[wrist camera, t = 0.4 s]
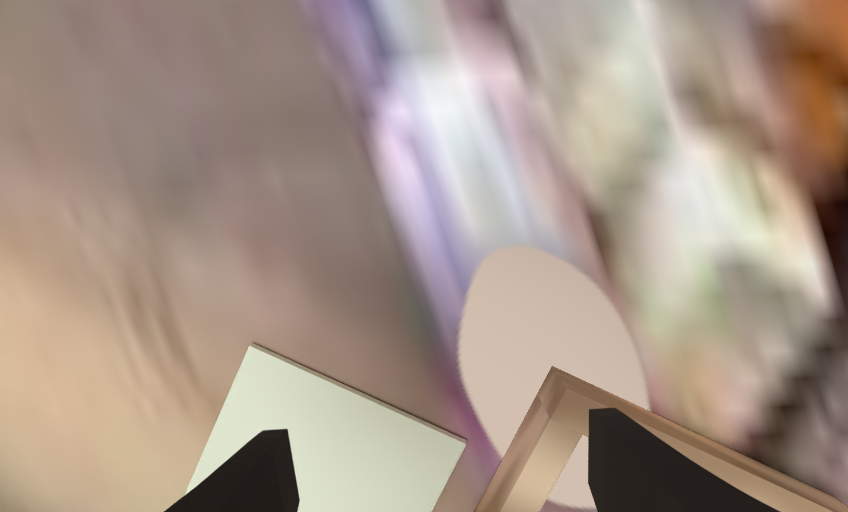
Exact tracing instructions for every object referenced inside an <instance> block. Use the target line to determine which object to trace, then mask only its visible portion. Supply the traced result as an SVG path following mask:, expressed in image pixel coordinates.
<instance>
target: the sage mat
mask: <svg viewBox="0 0 848 512" xmlns="http://www.w3.org/2000/svg"><path fill="white" fill-rule="evenodd" d="M274 429H288V434H289V440H290V446H291V452H292V457H293V463H294V469H295V475H296V481H297V487H298V493H299V498H300V502H299V507H298V511H297V512H432V510H433V508H434V506H435V504H436V502H437V500H438V498H439V496H440V494H441V492H442V490H443V488H444V487H445V485H446V483H447V481H448V479H449V477H450V475H451V473H452V471H453V469H454V467H455V465H456V463H457V461H458V460H459V458H460V456H461V454H462V452H463V450H464V448H465V446H466V440H465V439H463V438H461V437H458V436H456V435H454V434H452V433H450V432H447V431H445V430H443V429H441V428H439V427H436V426H434V425H432V424H430V423H428V422H425V421H423V420H421V419H419V418H417V417H414V416H412V415H410V414H408V413H406V412H403V411H401V410H399V409H397V408H395V407H392V406H390V405H388V404H386V403H384V402H381V401H379V400H377V399H375V398H373V397H370V396H368V395H366V394H364V393H362V392H359V391H357V390H355V389H353V388H351V387H348V386H346V385H344V384H342V383H340V382H337V381H335V380H333V379H331V378H329V377H326V376H324V375H322V374H320V373H318V372H315V371H313V370H311V369H309V368H307V367H304V366H302V365H300V364H298V363H296V362H293V361H291V360H289V359H287V358H285V357H282V356H280V355H278V354H276V353H274V352H271V351H269V350H267V349H265V348H263V347H260V346H258V345H256V344H254V343H252V344H251V345H250V346H249V348H248V350H247V352H246V355H245V357H244V359H243V362H242V364H241V366H240V369H239V371H238V373H237V375H236V378H235V380H234V382H233V385H232V387H231V389H230V392H229V394H228V396H227V398H226V401H225V403H224V405H223V408H222V410H221V412H220V415H219V417H218V419H217V421H216V424H215V426H214V428H213V431H212V433H211V435H210V438H209V440H208V442H207V444H206V447H205V449H204V451H203V454H202V456H201V458H200V461H199V463H198V465H197V468H196V470H195V472H194V474H193V477H192V479H191V481H190V484H189V486H188V488H187V491H186V493H185V495H186V494H187V493H188V492H190V491H191V490H192V489H193V488H195V487H196V486H197V485H198V484H200V483H201V482H202V481H203V480H204V479H206V478H207V477H208V476H209V475H210V474H211V473H213V472H214V471H215V470H216V469H217V468H218V467H220V466H221V465H222V464H223V463H224V462H225V461H227V460H228V459H229V458H230V457H231V456H232V455H234V454H235V453H236V452H237V451H238V450H239V449H240V448H242V447H243V446H244V445H245V444H246V443H247V442H249V441H250V440H251V439H252V438H253V437H255V436H256V435H257V434H258V433H260V432H261V431H262V430H274ZM185 495H184V496H185Z"/></svg>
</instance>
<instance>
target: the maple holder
mask: <svg viewBox="0 0 848 512" xmlns="http://www.w3.org/2000/svg"><path fill="white" fill-rule="evenodd" d="M599 408H616V409H618V410H620V411H621V412H623V413H624V414H626V415H627V416H628V417H630V418H631V419H633V420H634V421H636V422H637V423H638V424H640V425H641V426H643V427H644V428H645V429H647V430H648V431H650V432H651V433H652V434H654V435H655V436H657V437H658V438H660V439H661V440H662V441H664V442H665V443H667V444H668V445H670V446H671V447H673V448H674V449H675V450H677V451H678V452H680V453H681V454H683V455H684V456H686V457H687V458H689V459H690V460H692V461H693V462H695V463H697V464H698V465H700V466H701V467H703V468H704V469H706V470H708V471H709V472H711V473H712V474H714V475H716V476H717V477H719V478H721V479H722V480H724V481H726V482H727V483H729V484H731V485H732V486H734V487H736V488H737V489H739V490H741V491H743V492H744V493H746V494H748V495H750V496H752V497H753V498H755V499H757V500H759V501H761V502H763V503H765V504H767V505H769V506H771V507H772V508H774V509H776V510H778V511H780V512H848V507H847V506H845V505H844V504H843V503H841V502H840V501H839V500H837V499H836V498H835V497H833V496H831V495H828V494H826V493H824V492H822V491H820V490H818V489H815V488H813V487H811V486H809V485H807V484H805V483H803V482H800V481H798V480H796V479H794V478H792V477H790V476H787V475H785V474H783V473H781V472H779V471H777V470H775V469H772V468H770V467H768V466H766V465H764V464H762V463H760V462H757V461H755V460H753V459H751V458H749V457H747V456H744V455H742V454H740V453H738V452H736V451H734V450H732V449H729V448H727V447H725V446H723V445H721V444H719V443H716V442H714V441H712V440H710V439H708V438H706V437H704V436H701V435H699V434H697V433H695V432H693V431H691V430H689V429H686V428H684V427H682V426H680V425H678V424H676V423H673V422H671V421H669V420H667V419H665V418H663V417H661V416H658V415H656V414H654V413H652V412H650V411H648V410H645V409H643V408H641V407H639V406H637V405H635V404H633V403H630V402H628V401H626V400H624V399H622V398H619V397H617V396H615V395H613V394H611V393H609V392H607V391H604V390H602V389H600V388H598V387H596V386H594V385H592V384H589V383H587V382H585V381H583V380H581V379H579V378H576V377H574V376H572V375H570V374H568V373H566V372H564V371H561V370H559V369H557V368H555V367H553V366H552V367H551V369H550V371H549V373H548V375H547V377H546V379H545V381H544V383H543V384H542V386H541V388H540V390H539V392H538V394H537V396H536V397H535V399H534V401H533V403H532V405H531V407H530V409H529V411H528V412H527V415H526V416H525V418H524V420H523V422H522V424H521V426H520V427H519V429H518V431H517V433H516V435H515V437H514V439H513V441H512V442H511V444H510V446H509V448H508V450H507V452H506V454H505V456H504V457H503V459H502V461H501V463H500V465H499V467H498V469H497V471H496V472H495V474H494V476H493V478H492V480H491V482H490V484H489V486H488V488H487V489H486V491H485V493H484V495H483V497H482V499H481V501H480V503H479V504H478V506H477V508H476V510H475V512H540V510H541V508H542V506H543V504H544V503H545V501H546V499H547V497H548V495H549V494H550V492H551V490H552V488H553V486H554V485H555V483H556V481H557V479H558V477H559V476H560V474H561V472H562V470H563V468H564V467H565V465H566V463H567V461H568V459H569V458H570V456H571V454H572V452H573V450H574V448H575V447H576V445H577V443H578V441H579V440H580V437H581V436H582V434H583V435H585V436H588V437H589V409H599Z"/></svg>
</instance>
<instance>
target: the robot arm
mask: <svg viewBox="0 0 848 512" xmlns="http://www.w3.org/2000/svg"><path fill="white" fill-rule="evenodd" d="M588 457H589V458H588V459H589V460H588V484H589V486H590V489H591V493H592V496H593V499H594V502H595V505H596V508H597V511H598V512H780V511H778V510H776V509H774V508H772V507H771V506H769V505H767V504H765V503H763V502H761V501H759V500H757V499H755V498H753V497H752V496H750V495H748V494H746V493H744V492H743V491H741V490H739V489H737V488H736V487H734V486H732V485H731V484H729V483H727V482H726V481H724V480H722V479H721V478H719V477H717V476H716V475H714V474H712V473H711V472H709V471H708V470H706V469H704V468H703V467H701V466H700V465H698V464H697V463H695V462H693V461H692V460H690V459H689V458H687V457H686V456H684V455H683V454H681V453H680V452H678V451H677V450H675V449H674V448H673V447H671V446H670V445H668V444H667V443H665V442H664V441H662V440H661V439H660V438H658V437H657V436H655V435H654V434H652V433H651V432H650V431H648V430H647V429H645V428H644V427H643V426H641V425H640V424H638V423H637V422H636V421H634V420H633V419H631V418H630V417H628V416H627V415H626V414H624V413H623V412H621V411H620V410H618V409H616V408H599V409H589V453H588ZM299 502H300V498H299V493H298V487H297V481H296V475H295V469H294V463H293V457H292V452H291V446H290V440H289V434H288V429H274V430H262V431H261V432H260V433H258V434H257V435H256V436H255V437H253V438H252V439H251V440H250V441H249V442H247V443H246V444H245V445H244V446H243V447H242V448H240V449H239V450H238V451H237V452H236V453H235V454H234V455H232V456H231V457H230V458H229V459H228V460H227V461H225V462H224V463H223V464H222V465H221V466H220V467H218V468H217V469H216V470H215V471H214V472H213V473H211V474H210V475H209V476H208V477H207V478H206V479H204V480H203V481H202V482H201V483H200V484H198V485H197V486H196V487H195V488H193V489H192V490H191V491H190V492H188V493H187V494H186V495H185V496H183V497H182V498H181V499H180V500H178V501H177V502H176V503H174V504H173V505H172V506H171V507H169V508H168V509H167V510H166V511H164V512H297V511H298V507H299Z"/></svg>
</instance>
